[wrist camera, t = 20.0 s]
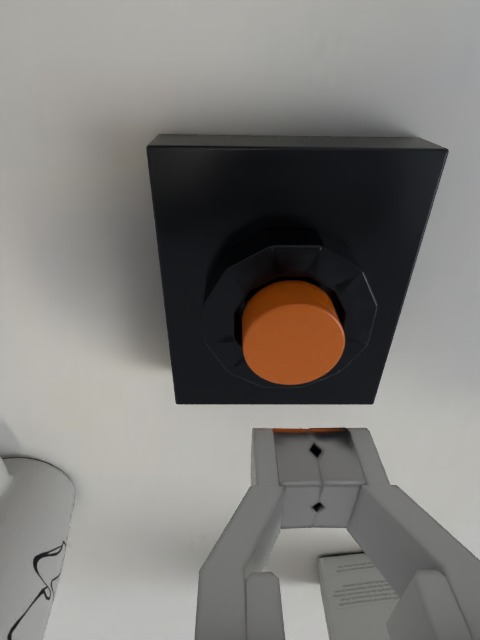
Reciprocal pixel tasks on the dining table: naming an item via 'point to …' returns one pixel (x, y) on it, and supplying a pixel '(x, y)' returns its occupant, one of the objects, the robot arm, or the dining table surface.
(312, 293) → the button
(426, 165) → the block
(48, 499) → the mug
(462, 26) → the dining table surface
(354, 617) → the cosmetic box
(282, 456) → the robot arm
